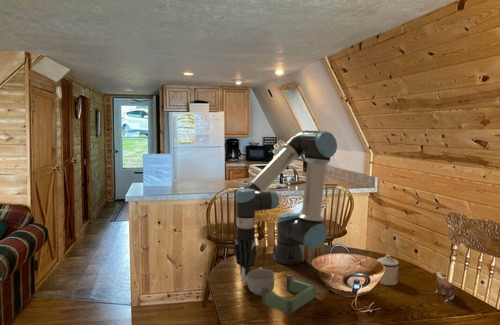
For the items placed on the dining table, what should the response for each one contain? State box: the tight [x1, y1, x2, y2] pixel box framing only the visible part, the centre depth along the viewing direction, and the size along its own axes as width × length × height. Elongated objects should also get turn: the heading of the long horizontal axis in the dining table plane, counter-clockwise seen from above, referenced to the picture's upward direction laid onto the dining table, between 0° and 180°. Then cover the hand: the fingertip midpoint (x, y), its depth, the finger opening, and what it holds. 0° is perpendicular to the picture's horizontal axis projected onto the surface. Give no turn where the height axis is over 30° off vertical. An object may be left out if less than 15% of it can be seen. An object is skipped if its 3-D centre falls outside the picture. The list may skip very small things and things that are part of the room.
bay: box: [261, 274, 316, 315], centre depth 148 cm, size 18×12×6 cm
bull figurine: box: [433, 271, 456, 303], centre depth 153 cm, size 4×13×8 cm, turn 176°
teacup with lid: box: [376, 254, 400, 286], centre depth 168 cm, size 12×9×12 cm
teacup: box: [247, 267, 275, 297], centre depth 156 cm, size 14×11×8 cm
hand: (245, 281), depth 162 cm, fingers closed
